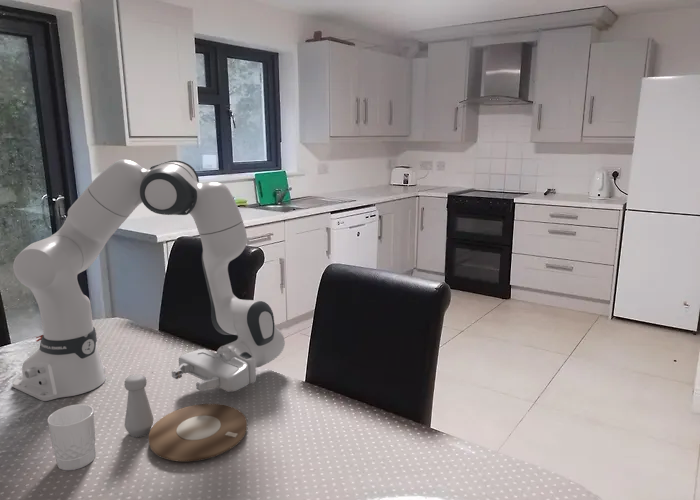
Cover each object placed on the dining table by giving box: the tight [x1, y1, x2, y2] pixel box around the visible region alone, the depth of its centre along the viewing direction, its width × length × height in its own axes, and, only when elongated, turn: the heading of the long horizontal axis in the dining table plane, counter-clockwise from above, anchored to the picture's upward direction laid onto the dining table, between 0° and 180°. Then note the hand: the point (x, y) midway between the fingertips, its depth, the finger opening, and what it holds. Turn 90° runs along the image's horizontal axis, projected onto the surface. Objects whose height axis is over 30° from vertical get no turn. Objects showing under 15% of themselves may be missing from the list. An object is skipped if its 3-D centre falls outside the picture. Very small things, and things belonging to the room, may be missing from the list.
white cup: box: [46, 403, 97, 471], centre depth 99 cm, size 8×8×10 cm
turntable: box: [148, 403, 248, 462], centre depth 108 cm, size 20×20×1 cm
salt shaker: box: [123, 373, 155, 438], centre depth 108 cm, size 6×6×13 cm
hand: (185, 381), depth 117 cm, fingers open, 8 cm apart
